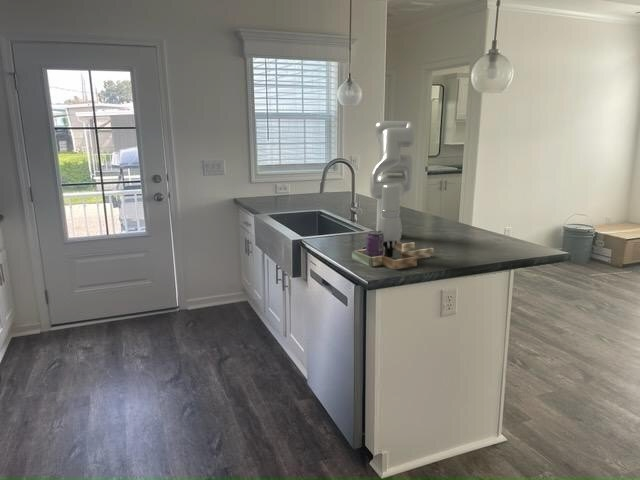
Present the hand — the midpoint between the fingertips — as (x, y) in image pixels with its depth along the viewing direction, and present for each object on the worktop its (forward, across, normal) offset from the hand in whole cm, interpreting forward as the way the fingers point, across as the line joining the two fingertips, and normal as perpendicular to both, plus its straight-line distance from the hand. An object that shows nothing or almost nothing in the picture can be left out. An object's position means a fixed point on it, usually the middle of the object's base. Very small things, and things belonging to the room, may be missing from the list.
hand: (388, 256), depth 203 cm
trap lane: (+1, -3, 0) cm, 3 cm away
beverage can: (+1, +8, 0) cm, 8 cm away
